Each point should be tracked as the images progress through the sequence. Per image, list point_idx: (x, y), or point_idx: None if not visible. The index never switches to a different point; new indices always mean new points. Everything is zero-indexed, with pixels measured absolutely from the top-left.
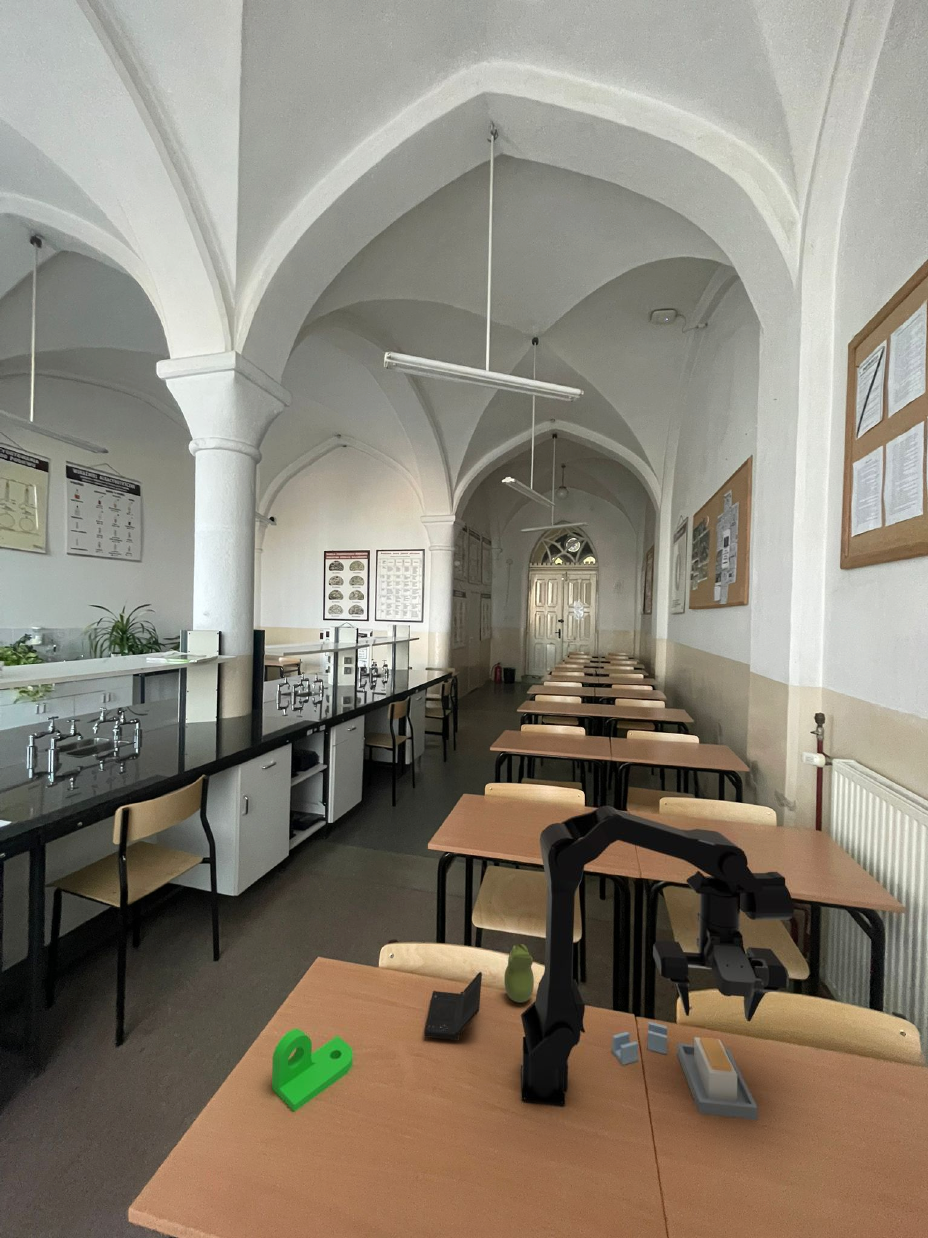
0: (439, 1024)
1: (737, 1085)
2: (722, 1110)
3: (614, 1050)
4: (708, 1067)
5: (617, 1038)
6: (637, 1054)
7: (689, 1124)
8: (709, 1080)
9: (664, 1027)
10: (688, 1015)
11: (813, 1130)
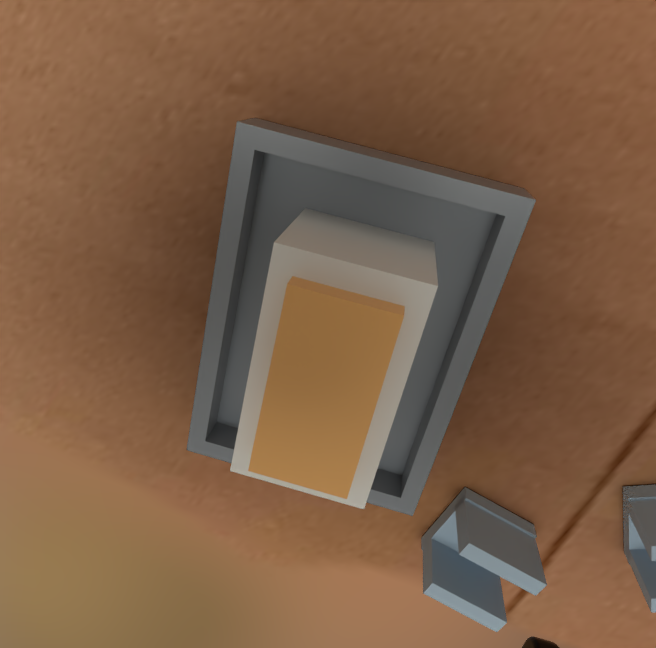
0: None
1: (247, 289)
2: (415, 164)
3: None
4: (420, 322)
5: None
6: (633, 508)
7: (617, 142)
8: (436, 272)
9: (440, 592)
10: (542, 643)
11: (21, 36)
